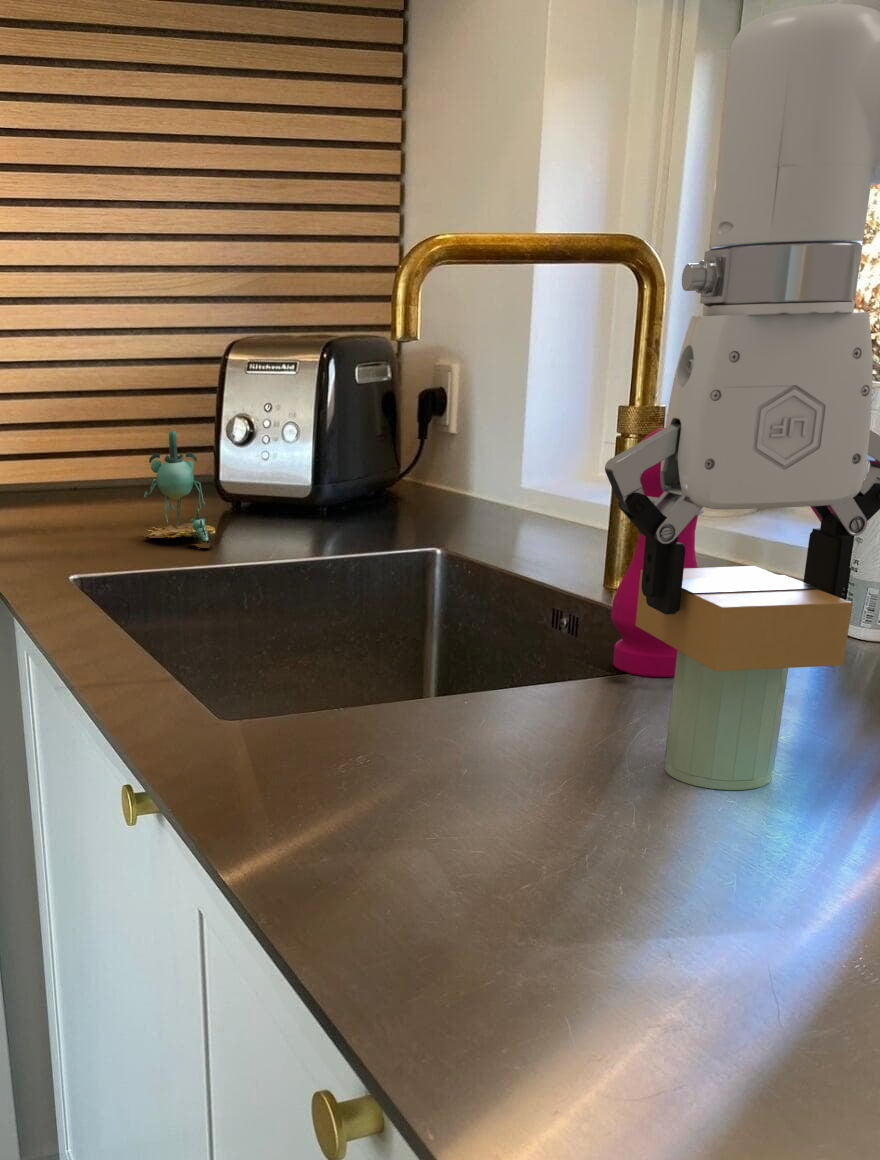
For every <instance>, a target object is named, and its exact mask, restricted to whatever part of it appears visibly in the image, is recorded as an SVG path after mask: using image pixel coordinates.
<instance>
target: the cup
mask: <svg viewBox="0 0 880 1160" xmlns="http://www.w3.org/2000/svg"><path fill="white" fill-rule="evenodd" d="M788 673H789V668H773V669H751V670H729V671H714V670H712V669H710V668H708V667H707V666H705V665H703V664H701V663H700V662H698V661H696V660H694V659H693V658H691V657H689V656H688V655H686V654H684V653H682V652H681V651H679V650H677V653H676V662H675V671H674V677H673V680H672V690H671V698H670V709H669V717H668V718H669V719H668V727H667V738H666V745H665V754H664V755H665V756H664V757H665V759H664V760H665V761H664V771H665V772H666V773H667V775H668V776H670V777H671V778H673V779H675V780H677V781H678V782H679V781H680V782H682V783H685V784H688V785H691V786H696V787H700V788H704V789H713V790H720V791H721V790H722V791H743V790H753V789H757V788H761V787H764V786H766V785H767V784H769V783H770V782H771V781H772V779H773V773H774V770H775V764H776V757H777V750H778V743H779V737H780V730H781V723H782V715H783V708H784V702H785V696H786V695H785V694H786V688H787V682H788Z"/></svg>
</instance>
